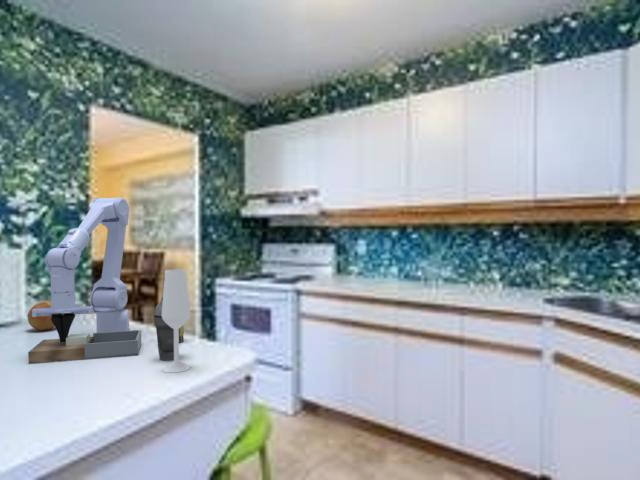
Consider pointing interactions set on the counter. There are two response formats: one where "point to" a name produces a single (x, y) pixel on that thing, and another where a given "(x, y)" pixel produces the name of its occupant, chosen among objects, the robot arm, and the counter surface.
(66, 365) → the counter surface
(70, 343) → the tile
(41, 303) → the onion
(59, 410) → the counter surface
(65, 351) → the plate
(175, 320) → the champagne flute
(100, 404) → the counter surface
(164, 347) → the beverage cup
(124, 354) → the box
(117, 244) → the robot arm
